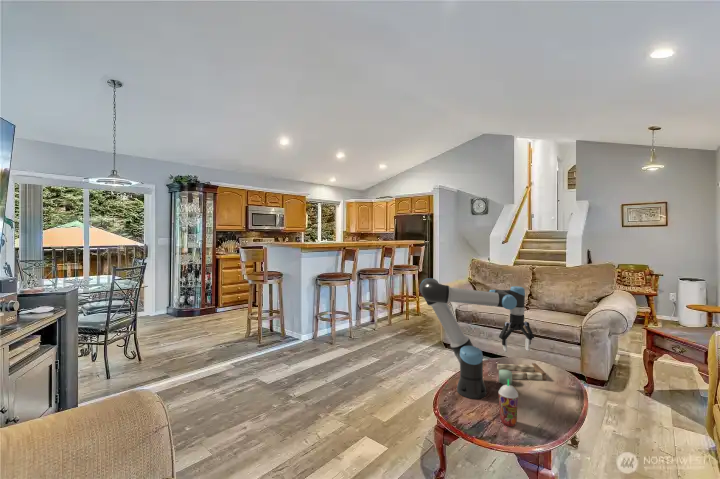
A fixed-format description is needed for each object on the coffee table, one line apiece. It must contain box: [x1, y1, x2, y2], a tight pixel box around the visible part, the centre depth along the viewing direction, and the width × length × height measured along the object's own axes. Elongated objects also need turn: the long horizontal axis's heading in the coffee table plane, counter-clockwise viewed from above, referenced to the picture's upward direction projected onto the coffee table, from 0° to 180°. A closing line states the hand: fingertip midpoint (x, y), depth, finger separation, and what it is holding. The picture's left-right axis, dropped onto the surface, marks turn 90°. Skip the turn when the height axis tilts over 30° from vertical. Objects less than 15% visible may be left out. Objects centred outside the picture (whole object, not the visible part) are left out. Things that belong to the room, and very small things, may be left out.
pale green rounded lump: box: [498, 370, 513, 386], centre depth 194 cm, size 7×7×6 cm
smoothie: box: [497, 379, 519, 427], centre depth 153 cm, size 8×8×20 cm
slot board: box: [496, 362, 547, 381], centre depth 205 cm, size 23×15×4 cm, turn 84°
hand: (516, 350), depth 193 cm, fingers open, 13 cm apart
